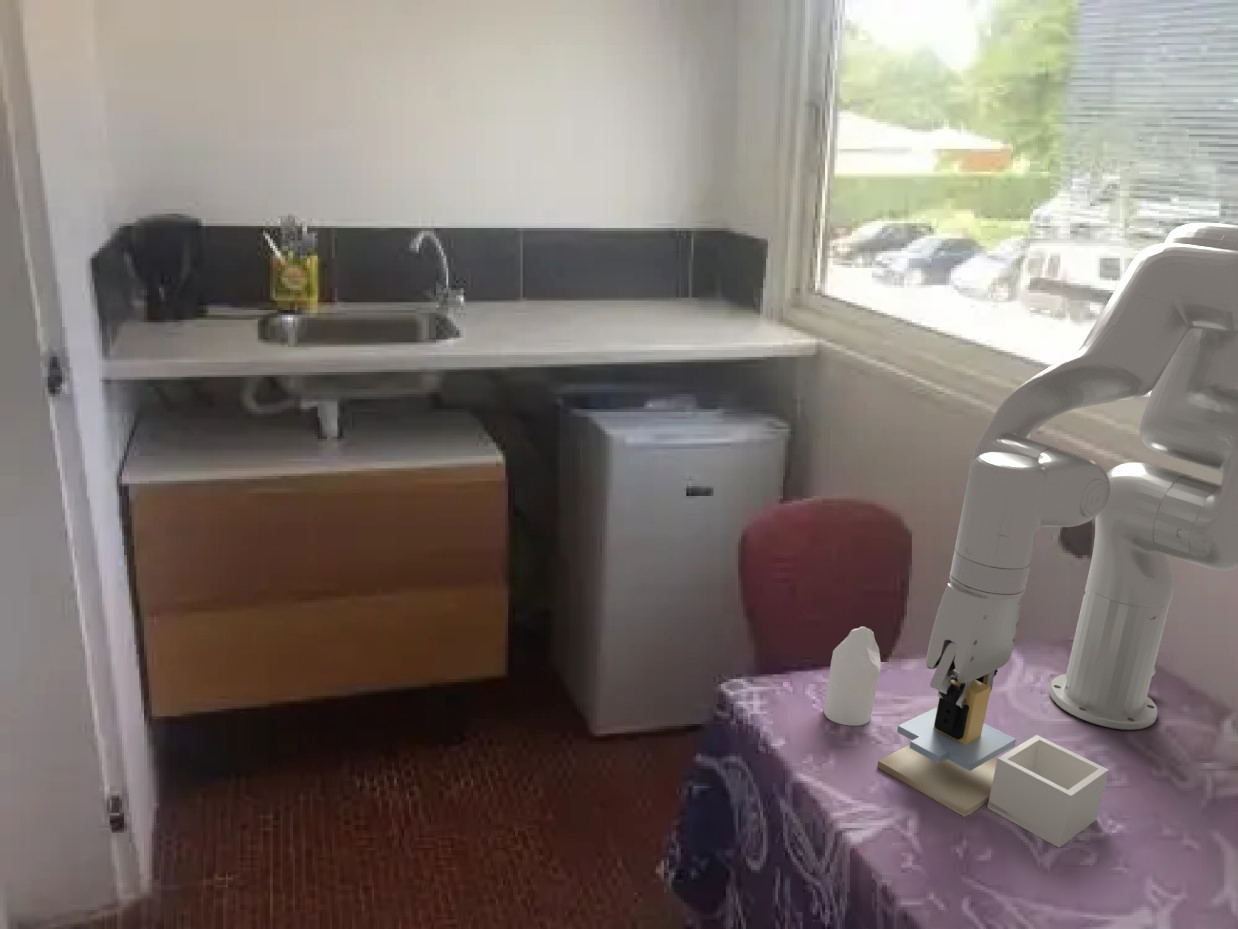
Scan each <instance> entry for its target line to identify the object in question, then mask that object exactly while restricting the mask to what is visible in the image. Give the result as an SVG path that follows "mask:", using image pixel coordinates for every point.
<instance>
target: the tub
mask: <svg viewBox="0 0 1238 929" xmlns="http://www.w3.org/2000/svg"><path fill="white" fill-rule="evenodd" d="M997 758H998V759H997V763H996V768H995V773H994V778H993V783H992V788H991V792H990V797H989V802H988V803H987V807H986V808H987V809H989V810H990V811H992V812H994V813H996V814H997V815H999V816H1001V817H1003V818H1004V819H1006V820H1008V821H1010V822H1012V823H1014V824H1015V825H1018V826H1019V827H1021V828H1023V829H1025V830H1026V831H1028V832H1030V833H1031V834H1033V835H1035V836H1036V837H1039V838H1041V839H1043V840H1044V841H1046V842H1048V843H1050V844H1051V845H1053V846H1055V847H1057V848H1061V847H1062V846H1063V845H1065V844H1066V843H1067V842H1069V841H1071V839H1073V838H1074V837H1075V836H1077V835H1079V833H1081V832H1082V831H1084V830H1086V829H1087V828H1088V827H1089V826H1091V825H1092V824H1093V823H1094V822H1096V821H1097V820H1098V816H1099V812H1100V808H1101V804H1102V799H1103V797H1104V796H1103V795H1104V792H1105V788H1106V782H1107V778H1108V776H1109V769H1108V768H1107V767H1104V766H1102V765H1100V764H1098V763H1096V762H1094V761H1092V760H1089V759H1087V758H1086V757H1084V756H1082V755H1079V754H1077V753H1075V752H1073V751H1071V750H1069V749H1066V748H1065V747H1063V746H1061V745H1058V744H1057V743H1054V742H1052V741H1051V740H1048V739H1046V738H1044V737H1042V736H1041V735H1038V734H1035V735H1034V736H1032V737H1031V738H1029V739H1028V740H1025V741H1023V743H1020V744H1019V745H1017V746H1016V747H1013V748H1012V749H1009V750H1008V751H1007V752H1005V753H1004V754H1002V755H1000V756H999V757H997Z"/></svg>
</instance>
